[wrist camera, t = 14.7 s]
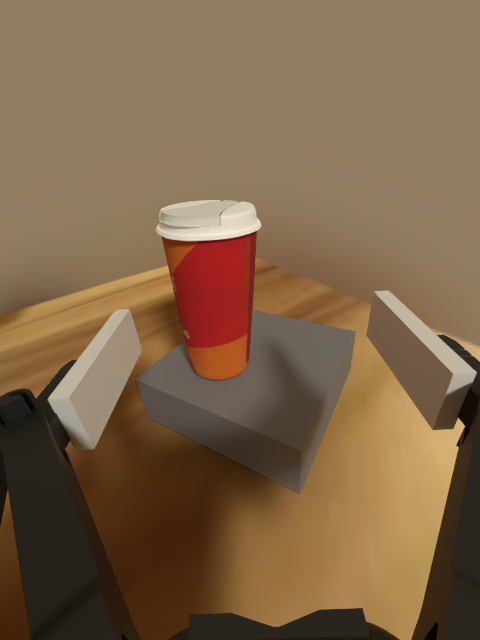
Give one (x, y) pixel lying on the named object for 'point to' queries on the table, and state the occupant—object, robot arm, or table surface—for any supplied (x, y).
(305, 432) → the base block
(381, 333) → the robot arm
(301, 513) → the table surface
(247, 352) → the paper cup
